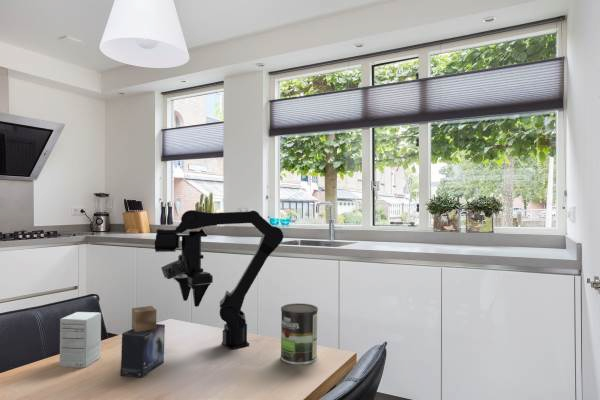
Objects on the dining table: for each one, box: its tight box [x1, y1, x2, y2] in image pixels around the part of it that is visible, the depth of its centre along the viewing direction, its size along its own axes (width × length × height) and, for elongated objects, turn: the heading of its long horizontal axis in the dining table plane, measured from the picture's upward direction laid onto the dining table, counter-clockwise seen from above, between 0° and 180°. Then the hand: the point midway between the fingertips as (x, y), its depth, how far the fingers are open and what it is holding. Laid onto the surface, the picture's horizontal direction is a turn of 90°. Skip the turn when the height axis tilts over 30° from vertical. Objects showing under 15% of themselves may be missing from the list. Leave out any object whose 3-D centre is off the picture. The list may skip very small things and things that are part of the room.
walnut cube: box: [131, 305, 157, 332], centre depth 106 cm, size 5×5×5 cm
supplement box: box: [59, 311, 102, 368], centre depth 110 cm, size 7×7×13 cm
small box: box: [119, 323, 166, 378], centre depth 106 cm, size 11×6×10 cm, turn 168°
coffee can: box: [280, 303, 319, 366], centre depth 114 cm, size 10×10×14 cm
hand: (190, 303), depth 122 cm, fingers open, 9 cm apart
